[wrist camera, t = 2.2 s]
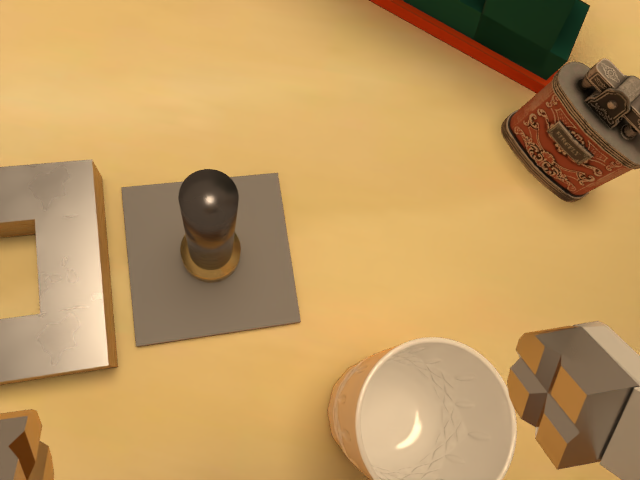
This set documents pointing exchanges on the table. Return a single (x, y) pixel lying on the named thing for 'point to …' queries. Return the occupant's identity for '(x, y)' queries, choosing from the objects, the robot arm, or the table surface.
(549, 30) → the power tool
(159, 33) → the table surface
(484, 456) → the white cup
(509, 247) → the table surface
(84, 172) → the grey square frame
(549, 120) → the lighter
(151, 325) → the grey square plate
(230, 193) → the dark grey peg
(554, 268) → the table surface
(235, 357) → the table surface
